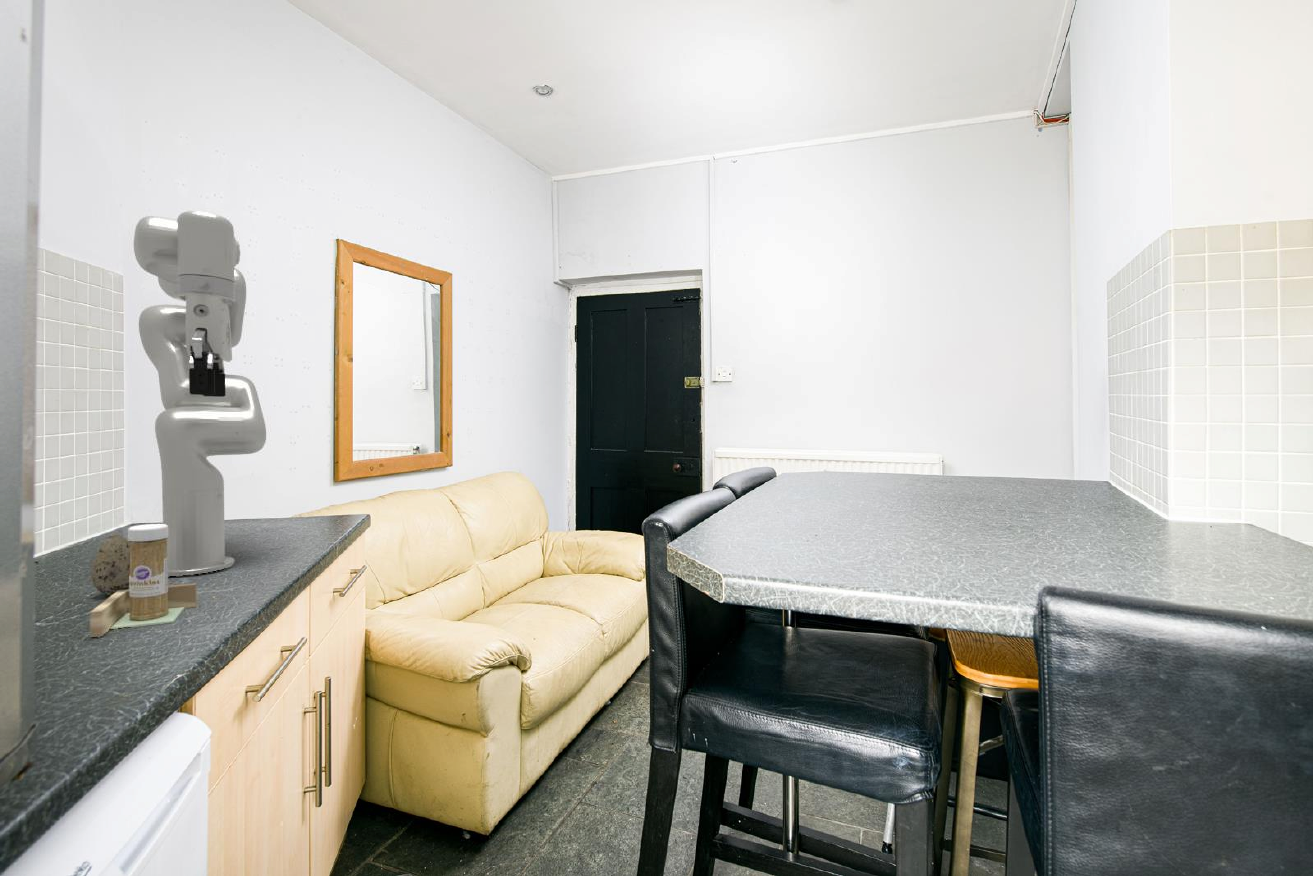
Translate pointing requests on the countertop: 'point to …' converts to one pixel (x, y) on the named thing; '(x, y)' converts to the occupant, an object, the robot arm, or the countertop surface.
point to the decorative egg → (112, 565)
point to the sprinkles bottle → (148, 571)
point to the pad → (167, 618)
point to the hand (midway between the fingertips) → (208, 395)
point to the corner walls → (120, 605)
